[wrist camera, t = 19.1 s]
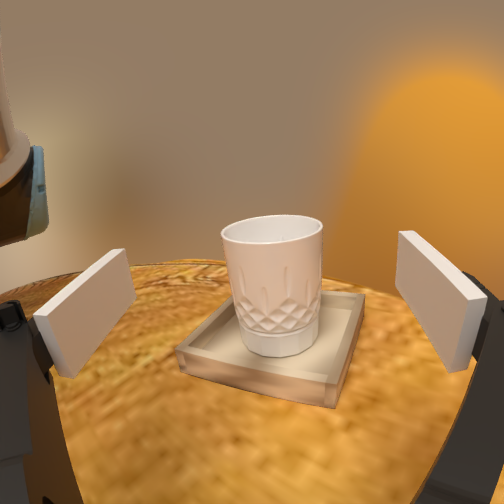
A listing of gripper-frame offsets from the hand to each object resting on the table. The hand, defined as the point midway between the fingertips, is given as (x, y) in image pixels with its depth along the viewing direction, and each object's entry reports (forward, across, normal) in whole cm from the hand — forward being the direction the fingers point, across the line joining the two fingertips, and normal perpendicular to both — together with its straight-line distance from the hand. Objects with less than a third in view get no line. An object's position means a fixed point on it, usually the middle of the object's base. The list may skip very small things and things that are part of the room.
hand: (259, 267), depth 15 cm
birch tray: (+11, 0, -12) cm, 16 cm away
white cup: (+10, 0, -11) cm, 16 cm away
